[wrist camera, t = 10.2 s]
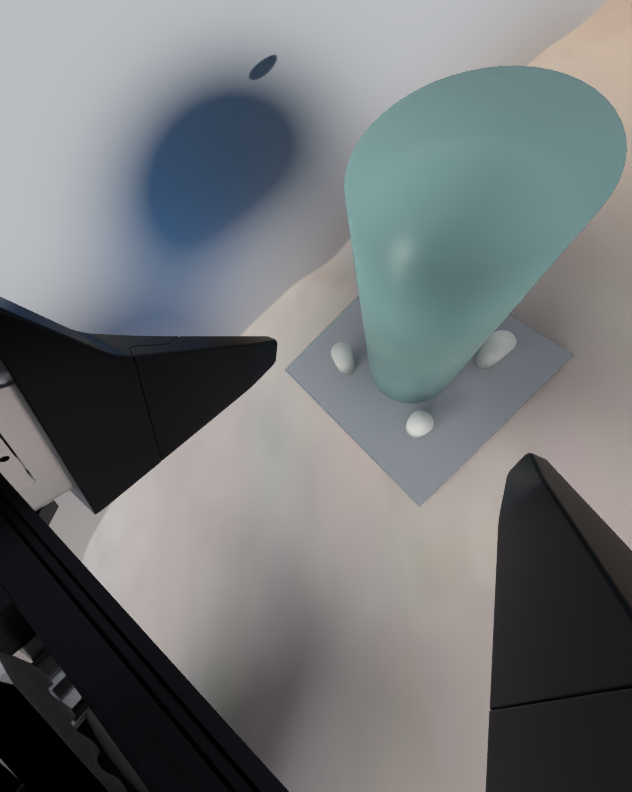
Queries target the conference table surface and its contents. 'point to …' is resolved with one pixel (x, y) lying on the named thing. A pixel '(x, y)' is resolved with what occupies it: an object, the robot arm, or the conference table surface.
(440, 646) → the conference table surface
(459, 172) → the rounded cone
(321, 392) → the pin board
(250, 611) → the conference table surface
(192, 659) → the conference table surface
